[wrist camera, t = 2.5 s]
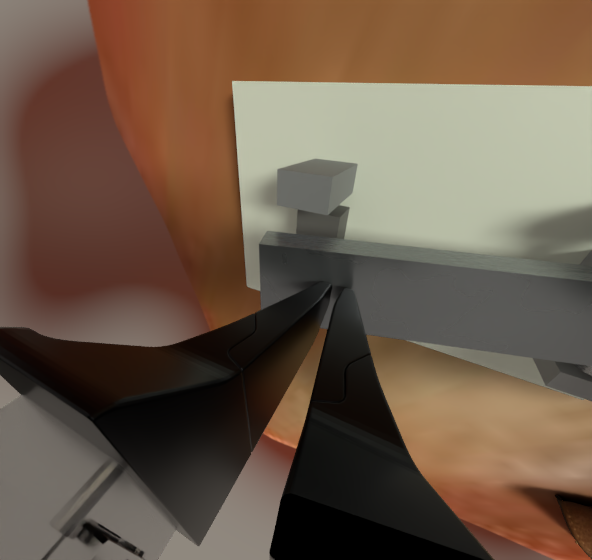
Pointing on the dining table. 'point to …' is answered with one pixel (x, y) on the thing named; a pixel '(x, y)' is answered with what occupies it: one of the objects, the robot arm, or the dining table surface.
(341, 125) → the base
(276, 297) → the bar
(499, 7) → the dining table surface
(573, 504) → the sunglasses case
